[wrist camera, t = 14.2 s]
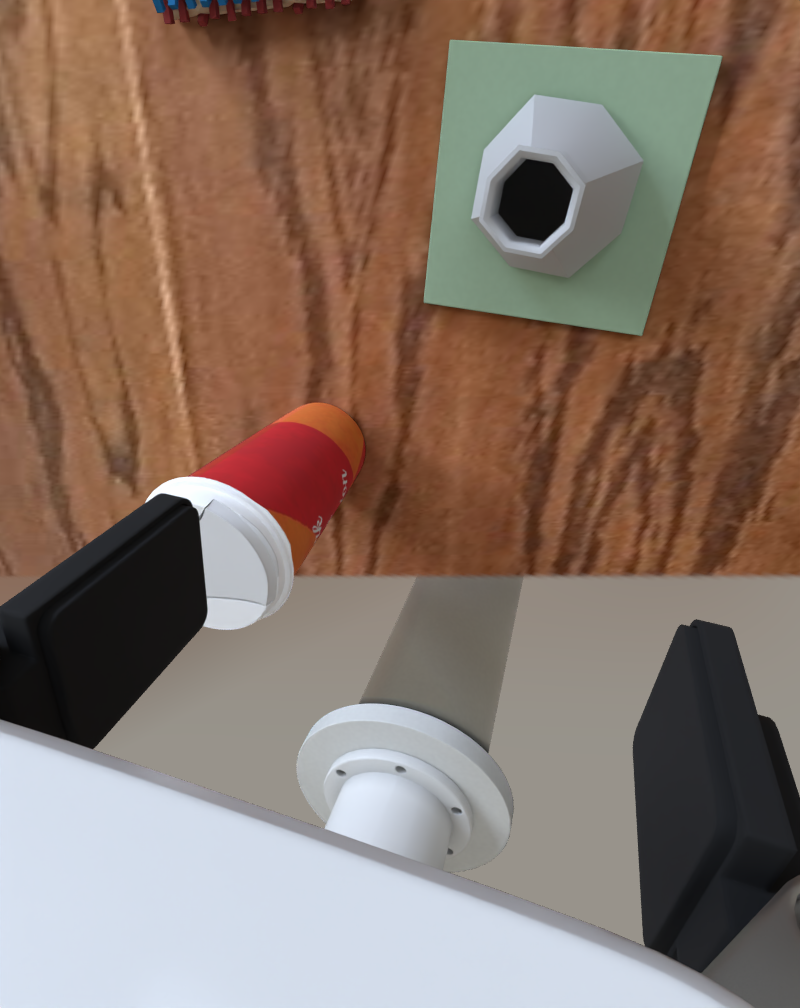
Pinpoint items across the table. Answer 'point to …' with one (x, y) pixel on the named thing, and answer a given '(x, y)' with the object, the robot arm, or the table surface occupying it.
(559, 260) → the flask
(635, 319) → the coaster
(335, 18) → the table surface
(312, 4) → the woven mat
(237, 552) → the paper cup
